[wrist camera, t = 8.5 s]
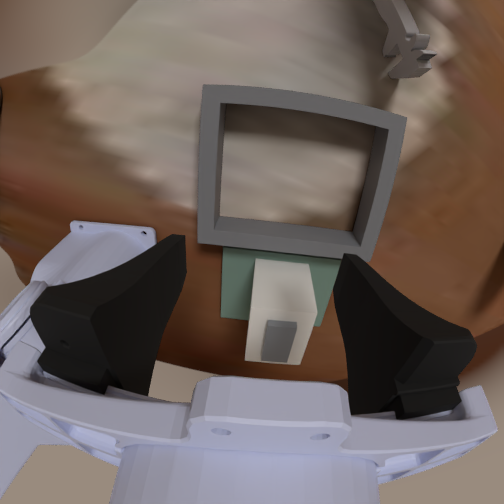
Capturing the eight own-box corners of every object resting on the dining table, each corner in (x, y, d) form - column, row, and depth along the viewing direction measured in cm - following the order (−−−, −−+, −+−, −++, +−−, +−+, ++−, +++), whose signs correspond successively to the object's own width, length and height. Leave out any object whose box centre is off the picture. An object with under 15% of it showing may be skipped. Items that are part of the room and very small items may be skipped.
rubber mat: (221, 312, 28) (220, 317, 27) (224, 243, 24) (223, 247, 23) (319, 322, 28) (319, 326, 27) (339, 256, 24) (341, 260, 23)
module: (249, 310, 27) (244, 366, 21) (255, 258, 23) (250, 313, 18) (295, 315, 27) (299, 370, 21) (308, 263, 23) (318, 319, 18)
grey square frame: (204, 228, 23) (197, 242, 21) (211, 86, 17) (202, 84, 15) (361, 246, 23) (369, 261, 21) (392, 114, 17) (407, 117, 15)
